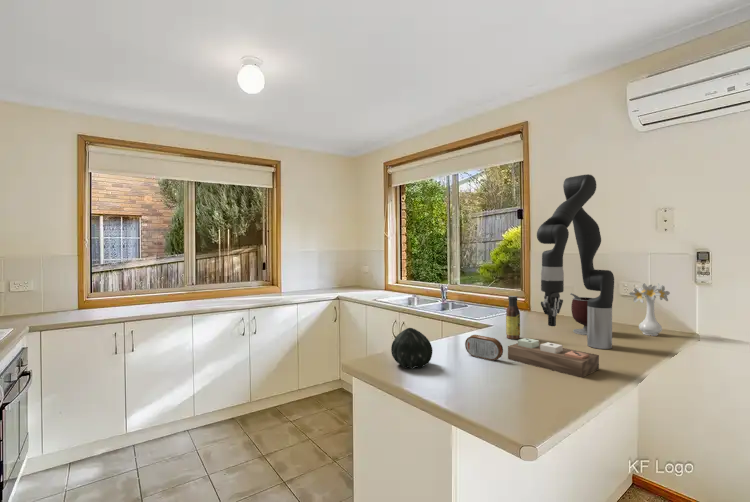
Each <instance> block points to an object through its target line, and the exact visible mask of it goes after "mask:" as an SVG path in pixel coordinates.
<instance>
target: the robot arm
mask: <svg viewBox="0 0 750 502" xmlns="http://www.w3.org/2000/svg"><path fill="white" fill-rule="evenodd" d="M562 186H563V193H564V196H565V201H563V202H562V203H560V204H559V205H558V207H557V208H556V209H555V211H554V212H553V214H552V215H551V216H550V217H549V218H548V219H547V220H545V221H544V222H543V223H542V224H540V226H539V227H538V228H537V231H536V238H537V240H538V242H539V243H540V244H545V245H554V246H553V248H552V249H548V250H544V251H543V252H542V254H541V273H540V291H541V292H543V293H544V296H543V297H544V299H543V301H541V302H540V305H541V308H542V310H543V314H544V315H547V320H548V321H547V325H548V327H556V326H557V316H558V314H560V312H561V308H562V306H563V303H564V300H563V298H562V299H561V298H560V297H561V295H560V293H564V291H565V290H564V285H565V284H564V277H565V274H564V254H565V249H566V247H567V246H566V245H567V243H568V239H569V234H570V233H569V229H568V228H569V227H570V226H571V224H572V225H573V232H574V236H575V237H574V238H575V240H576V245H577V248H578V249H577V250H578V254H579V259H580V266H581V268H580V269H581V274H582V275H581V276H582V282H583V285H584V287H585V289H587V290H588V291H595V292H599V295H598V296H596V297H591V298H592V299H589V300H588V306H587V313H588V314H587V335H586V337H587V340H586V341H587V347H590V348H594V349H600V350H609V349H610V350H611V349H612V348H613V302H614V292H615V276H614V272H612V271H611V270H608V269H595V268H594V258H595V256H596V253H597V252H598V250H599V248H600V246H601V243H602V237H601V236H602V235H601V231H600V227H599V224H598V223H597V221H596V220H595V219H593V217H592V216H591V215H590V214H589V213H588V212H587V211H585V209H584V208H583V207H584V205H585V204H586V203H587V202H588V201H589V200H590V199H591V198H592V197H593V196H594V195H595V192H596V191H597V180H596V178H595V177H594V175H593V174H580V175H575V176H570V177H567V178H565V179H564V180H563V184H562Z"/></svg>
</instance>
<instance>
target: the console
mask: <svg viewBox="0 0 750 502" xmlns="http://www.w3.org/2000/svg"><path fill="white" fill-rule="evenodd" d="M541 344H543V343H542V342H539V346H538V347H535V348H527V347H523V346H518V342H517V343H514V344H511V345H508V346H507V360H511V361H514V362H518V363H523V364H525V365H530V366H533V367H537V368H543V369H546V370H549V371H553V372H558V373H561V374H565V375H568V376H569V375H570V376H573V377H577V378H581V379H582V378H584V377H587V376H588V375H590V374H592V373H594V372H596V371H598V370H599V369H600V354H597V353H596V354H594V353H592V352H586V351H582V350H577V349H571V348H566V347H563V351H562V352H559V353H556V354H555V353H550V352H546V351H541V350H540V345H541ZM570 351H576V352H581V353H586V354H589V357H587V358H585V359H578V358H573V357H569V356H565V353H568V352H570Z"/></svg>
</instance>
